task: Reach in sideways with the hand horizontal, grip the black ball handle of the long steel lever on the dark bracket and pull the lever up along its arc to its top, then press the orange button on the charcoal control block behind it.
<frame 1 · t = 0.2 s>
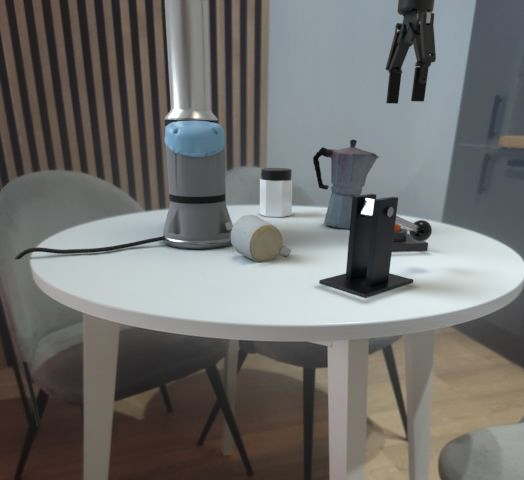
hand: (404, 102, 115), 28 cm above the table, tool pointing down, fingers open, 13 cm apart
moka pot: (340, 226, 124), on the table
control block: (388, 249, 102), on the table
ceramic mug: (262, 259, 94), on the table
jar: (275, 215, 138), on the table
lever: (399, 221, 78), point 10 cm above the table, hinge at -20.0°
button: (390, 227, 100), point 4 cm above the table, slide at 0.1 cm
bracket: (366, 287, 78), on the table
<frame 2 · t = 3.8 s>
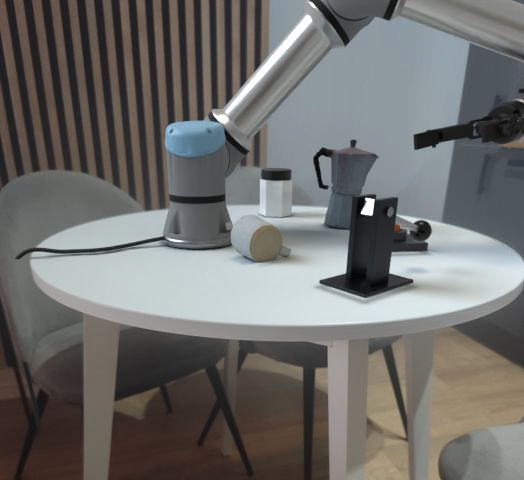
hand: (447, 138, 87), 21 cm above the table, tool horizontal, fingers open, 13 cm apart
nothing on the table moved.
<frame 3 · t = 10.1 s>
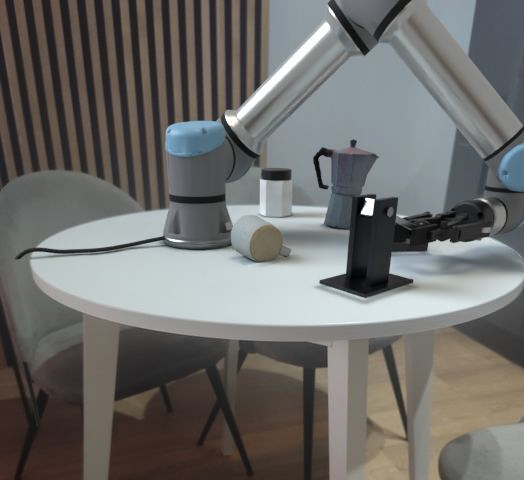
hand: (401, 235, 80), 7 cm above the table, tool horizontal, fingers closed on lever, 4 cm apart
lever: (399, 221, 78), point 10 cm above the table, hinge at -20.0°, touching gripper
everything else where it was.
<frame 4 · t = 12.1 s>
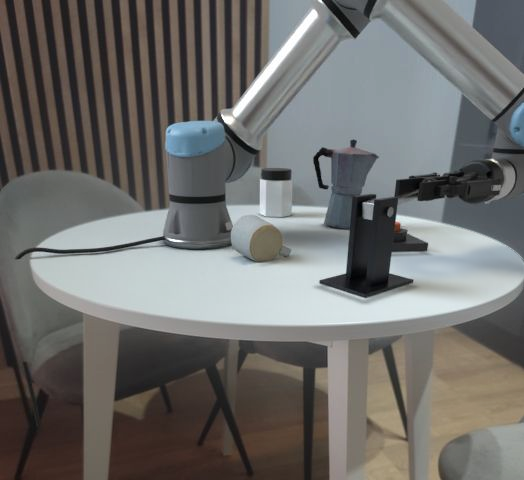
hand: (408, 190, 77), 14 cm above the table, tool horizontal, fingers closed on lever, 4 cm apart
lever: (403, 198, 77), point 13 cm above the table, hinge at 7.5°, touching gripper
everything else where it was.
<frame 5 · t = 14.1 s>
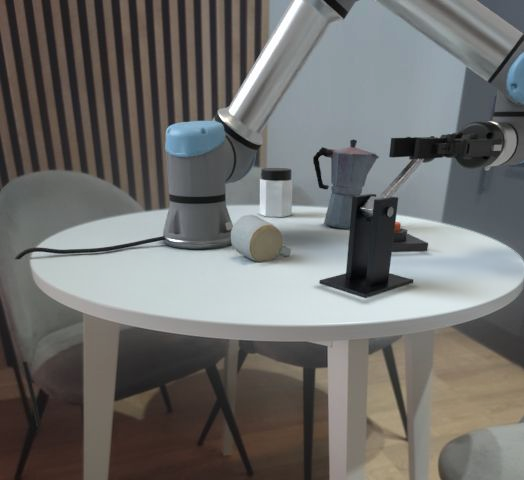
hand: (404, 148, 73), 20 cm above the table, tool horizontal, fingers closed on lever, 4 cm apart
lever: (401, 178, 75), point 16 cm above the table, hinge at 34.1°, touching gripper
everything else where it was.
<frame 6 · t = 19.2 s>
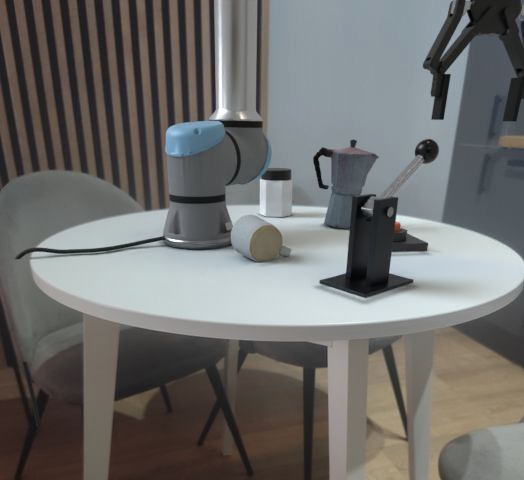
hand: (473, 120, 83), 24 cm above the table, tool pointing down, fingers open, 12 cm apart
lever: (401, 178, 75), point 16 cm above the table, hinge at 33.3°
everything else where it was.
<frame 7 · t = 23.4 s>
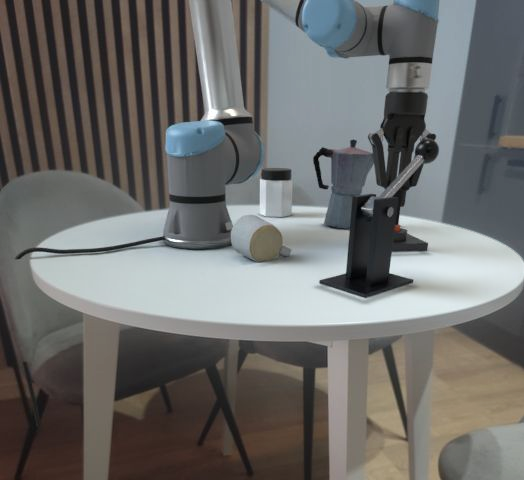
hand: (392, 223, 100), 5 cm above the table, tool pointing down, fingers closed
button: (390, 229, 100), point 4 cm above the table, slide at -0.3 cm, touching gripper
everything else where it was.
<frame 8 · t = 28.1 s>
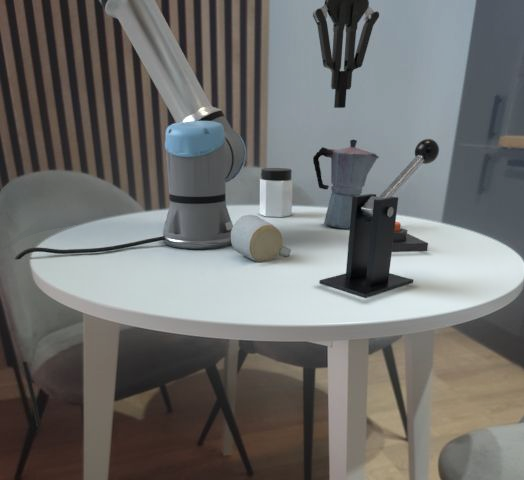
hand: (339, 107, 102), 26 cm above the table, tool pointing down, fingers closed
button: (390, 227, 100), point 4 cm above the table, slide at 0.1 cm
everything else where it was.
at the end: lever at +33° (first picture: -20°); button pushed in 1.0 cm at the most during the clip, back to where it started at the end; button slide at 0.1 cm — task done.
